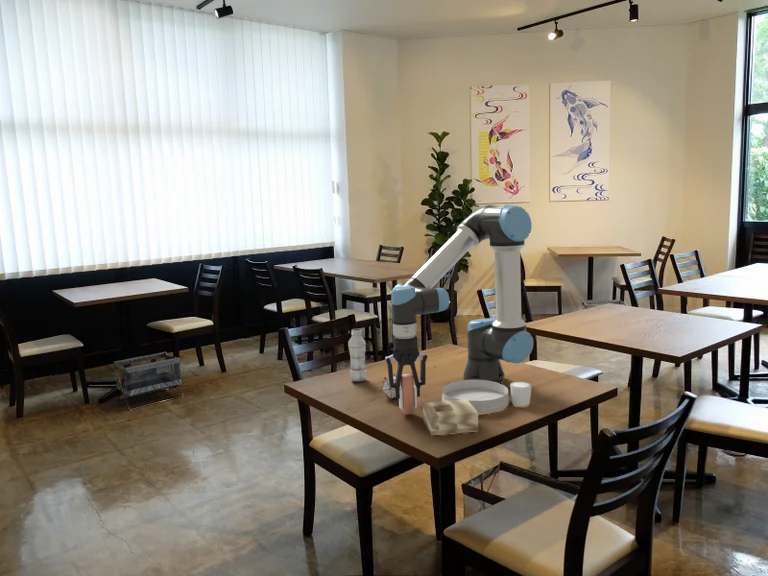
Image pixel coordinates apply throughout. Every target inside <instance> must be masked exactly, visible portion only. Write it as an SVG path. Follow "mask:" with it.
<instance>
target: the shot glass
mask: <svg viewBox="0 0 768 576" xmlns="http://www.w3.org/2000/svg"><path fill="white" fill-rule="evenodd" d="M532 386H533V385H532V383H530V382H527V381H513V382H511V383H510V384H509V387H510V394H511V397H510V398H511V405H512V404H514V405H518V406H524V405H528V404H531V398H532V397H531V395H532V388H533V387H532Z"/></svg>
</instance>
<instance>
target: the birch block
mask: <svg viewBox="0 0 768 576" xmlns="http://www.w3.org/2000/svg"><path fill="white" fill-rule="evenodd" d="M422 412H423V413H422V414H423V416H422V417H423V419H422V420H423V423H424V425H425V424H426V425H425V427H426V426H427V427H426V428H428V429H427V430H429V431H430V432H429V431H428V432H429V434H430V433H431V434H430V436H431V435H436V434H437V435H438V434H450V433H458V432H469V431H478V432H479V415H478V412H477V411H476V410H475V408H474V407H473V406H472V405H471V403H470V402H469V401H468V400H467V399H463V400H450V401H442V400H441V401H439V400H438V401H430V402H428V401H427V402H422Z"/></svg>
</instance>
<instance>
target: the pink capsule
mask: <svg viewBox="0 0 768 576" xmlns="http://www.w3.org/2000/svg"><path fill="white" fill-rule="evenodd" d="M414 386H415V382H414V378H413V374H412V373H402V377H401V389H402V398H403V409H401V410H402V411H401V413H402V414H403V415H412V414H414V413H415V411H416V410H415V409H416V408H415V405H414Z"/></svg>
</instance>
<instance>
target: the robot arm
mask: <svg viewBox="0 0 768 576" xmlns="http://www.w3.org/2000/svg"><path fill="white" fill-rule="evenodd" d="M530 216H531V215H530V214H529V213H528V211H526V209H525V208H524V207H522V206H518V205H513V204H505V205H504V204H503V205H493V204H490V205H484V206H482V207H480V208H477V209H476V210H475V211H473V212H472V213H470V214H469V215H468V216H467V217H466V218H465V219H464V220H462V222H460V223H459V224H458V225H457V227H456V232H455V233H454V234H452V236H451V237H450V238H448V240H447V241H446V242H444V244H442V246H440V248H439V249H437V251H436V252H435V253H434V254H433V255H432V256H430V258H429V259H428V260H427V261H426V262H425V263H424V264H423V265H422V266H421V267H420V268H419V269H418V270H417V271H416V272H415V273H414V274H413V275H412V276H411V277H410V278H409V279H408V280H407V281H406V282H402V283H398V284H396V285H395V286H394V287H393V288H392V290H391V298H390V299H391V302H390V304H391V314H392V317H391V318H392V319H391V320H392V335H393V350H392V351H393V352H392V354H391V355H389V356H385V357H384V360H385V362H386V365H387V374H388V377H387V378H389V385H390V387H391V388H395V396H396V397H395V398H396V400H397V399H398V403H399V404H398V405H399V406H398V407H399V409H400V410H402V409H403V398H402V389H401V387H400V383H401V377H402V375H403V370H404V366H405V367H406V366H410V370H411V374H412V375H413V381H414V405H415V409H418V398H419V397H420V396H421V386H425V385H426V382H427V381H426V378H427V377H426V363H427V360H428V355H427V354H426V352H423V353H422V352H420V351H419V349H418V348H419V345H418V336H417V335H418V327H417V326H418V325H417V323H418V321H417V320H418V319H417V317H418V316H421V315H427V314H434V313H439V312H443V311H445V310H447V309H448V307H449V305H450V296H449V293H448V291H447V289H445V288H443V287H434V286H435V285H436V284H437V283H438V282H439V281H441V279H442V278H443V277H444V276H445V275H446V274H447V273H448V272H449V271H450V270H451V269H452V268H453V267H454V266H455V265H456V264H457V263H458V262H459V260H461V259H462V258H463V257H464V256H465V254H466V253H467V252H468V251H469V250H470V249H471V248H472V247H477V246H478V245H479V244H480V243H481V242H482V241H485V240H488V239H489V247H490V248H491V249H492V250H493V251H494V279H495V280H494V283H495V287H494V288H495V318H493V317H488V318H478V319H474V320H473V319H472V320H470V321H469V322H468V323H467V332H466V333H467V363H466V365H465V367H464V372H463V380H487V381H493V382H497V383H501V382H503V381H504V379H505V375H506V374H505V371H504V369H503V366H502V363H501V361H504V362H507V363H512V364H520V363H522V362H524V361H526V360H527V359H528V357H529V356H530V355H531V354H532V351H533V348H534V338H533V336H532V334H531V333H530V332H528V331H527V323H526V321H525V320H523V319H522V291H521V289H522V285H521V283H522V282H521V277H522V276H521V275H522V273H521V250H522V248H524V246H525V242H526V241H525V240H526V239H528V238H529V235H530V233H531V232H532V226H533V225H532V224H533V223H532V220H531V217H530ZM433 287H434V288H433ZM418 357H419V360H420V361H419V362H420V363H419V364H420V365H419V367H420V375H418V372H417V368H416V360H417V359H418ZM394 360H395V361H396V362H397V370H396V374H395V376H396V381H395V383H394V380H393V376H394V373H393V372H394V371H393V364H392V363H393V362H394ZM418 376H420V377H418ZM419 378H420V379H419ZM505 380H506V379H505ZM504 382H505V381H504ZM504 382H503V383H504ZM501 384H502V383H501Z"/></svg>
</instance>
